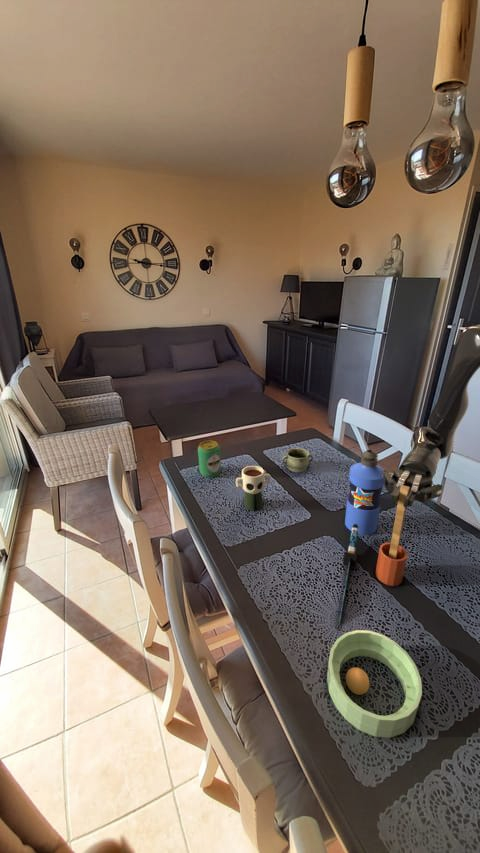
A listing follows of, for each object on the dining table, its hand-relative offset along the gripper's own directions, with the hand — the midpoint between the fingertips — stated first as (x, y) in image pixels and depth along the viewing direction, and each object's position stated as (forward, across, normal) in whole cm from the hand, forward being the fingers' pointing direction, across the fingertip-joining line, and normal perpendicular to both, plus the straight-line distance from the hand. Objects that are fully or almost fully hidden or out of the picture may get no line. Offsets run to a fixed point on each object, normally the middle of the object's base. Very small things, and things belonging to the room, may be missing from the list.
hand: (400, 502), depth 76 cm
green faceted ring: (+25, +4, +25) cm, 35 cm away
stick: (-3, 0, +22) cm, 22 cm away
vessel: (-39, -44, +25) cm, 64 cm away
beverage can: (-18, -69, +24) cm, 76 cm away
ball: (+26, +2, +24) cm, 36 cm away
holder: (-3, 0, +25) cm, 25 cm away
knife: (+2, -9, +25) cm, 26 cm away
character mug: (-10, -44, +25) cm, 52 cm away
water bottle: (-19, -12, +25) cm, 34 cm away
